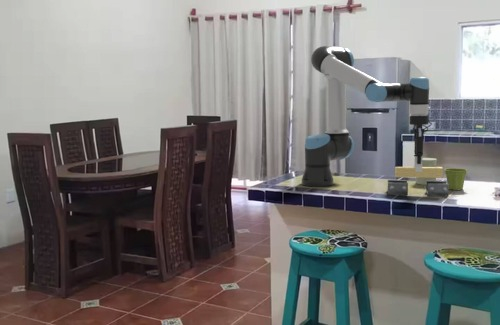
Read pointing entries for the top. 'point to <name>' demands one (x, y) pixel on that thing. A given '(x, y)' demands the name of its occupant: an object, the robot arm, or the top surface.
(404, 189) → the chain end left
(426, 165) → the can
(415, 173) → the yellow wooden bar
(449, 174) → the plant pot
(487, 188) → the top surface
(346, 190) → the top surface
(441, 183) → the chain end right
